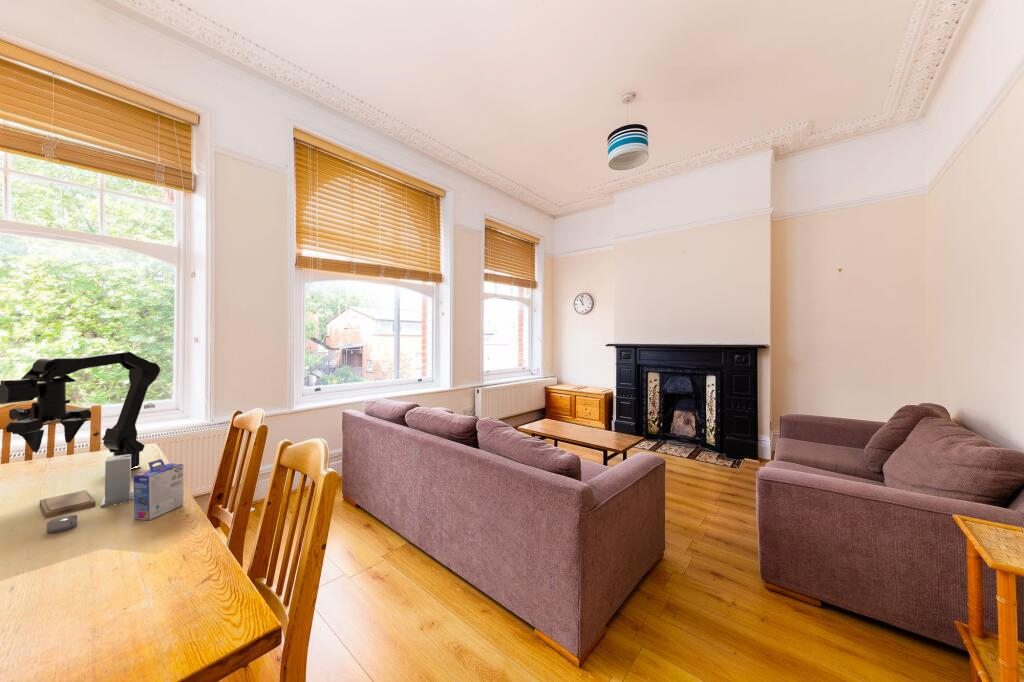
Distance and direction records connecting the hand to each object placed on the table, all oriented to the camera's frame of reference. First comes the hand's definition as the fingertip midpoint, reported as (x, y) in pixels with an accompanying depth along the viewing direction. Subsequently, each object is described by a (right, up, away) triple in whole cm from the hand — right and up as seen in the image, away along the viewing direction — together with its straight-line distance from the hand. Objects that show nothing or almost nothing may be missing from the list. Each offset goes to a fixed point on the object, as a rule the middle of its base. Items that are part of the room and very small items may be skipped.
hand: (52, 447), depth 118 cm
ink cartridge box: (+45, -15, -12) cm, 49 cm away
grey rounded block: (+29, -15, -22) cm, 40 cm away
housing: (+27, -14, -6) cm, 31 cm away
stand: (+16, -14, -10) cm, 23 cm away
